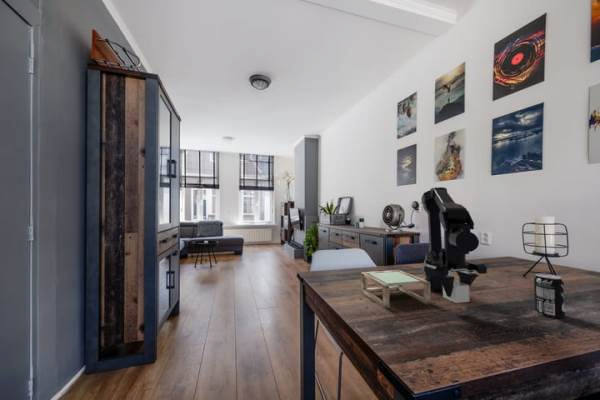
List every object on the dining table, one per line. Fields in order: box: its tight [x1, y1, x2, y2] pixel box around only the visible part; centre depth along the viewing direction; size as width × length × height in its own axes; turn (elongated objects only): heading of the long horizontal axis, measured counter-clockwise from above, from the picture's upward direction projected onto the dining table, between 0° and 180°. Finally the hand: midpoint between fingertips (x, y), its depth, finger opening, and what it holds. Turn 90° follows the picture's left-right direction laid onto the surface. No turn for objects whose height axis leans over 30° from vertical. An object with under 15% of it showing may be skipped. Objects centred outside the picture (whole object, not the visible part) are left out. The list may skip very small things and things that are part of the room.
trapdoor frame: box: [360, 269, 432, 309], centre depth 91 cm, size 18×18×8 cm
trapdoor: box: [369, 272, 421, 286], centre depth 92 cm, size 13×13×1 cm
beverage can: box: [533, 273, 566, 319], centre depth 77 cm, size 7×7×12 cm
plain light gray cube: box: [442, 280, 470, 304], centre depth 77 cm, size 5×5×5 cm
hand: (455, 295), depth 77 cm, fingers closed on plain light gray cube, 5 cm apart
